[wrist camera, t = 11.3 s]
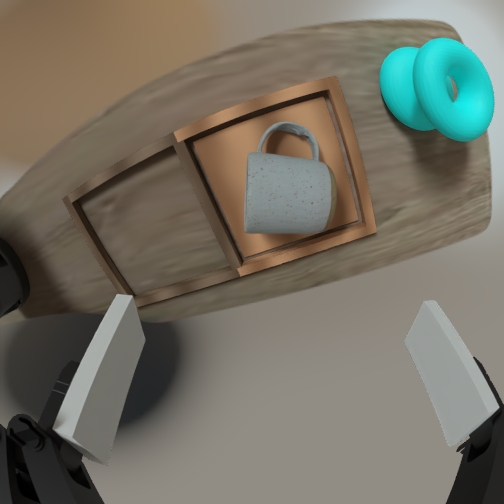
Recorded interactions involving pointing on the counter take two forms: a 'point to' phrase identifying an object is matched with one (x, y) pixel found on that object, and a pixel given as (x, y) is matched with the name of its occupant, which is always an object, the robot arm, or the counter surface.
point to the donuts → (438, 89)
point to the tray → (234, 177)
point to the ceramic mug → (288, 189)
